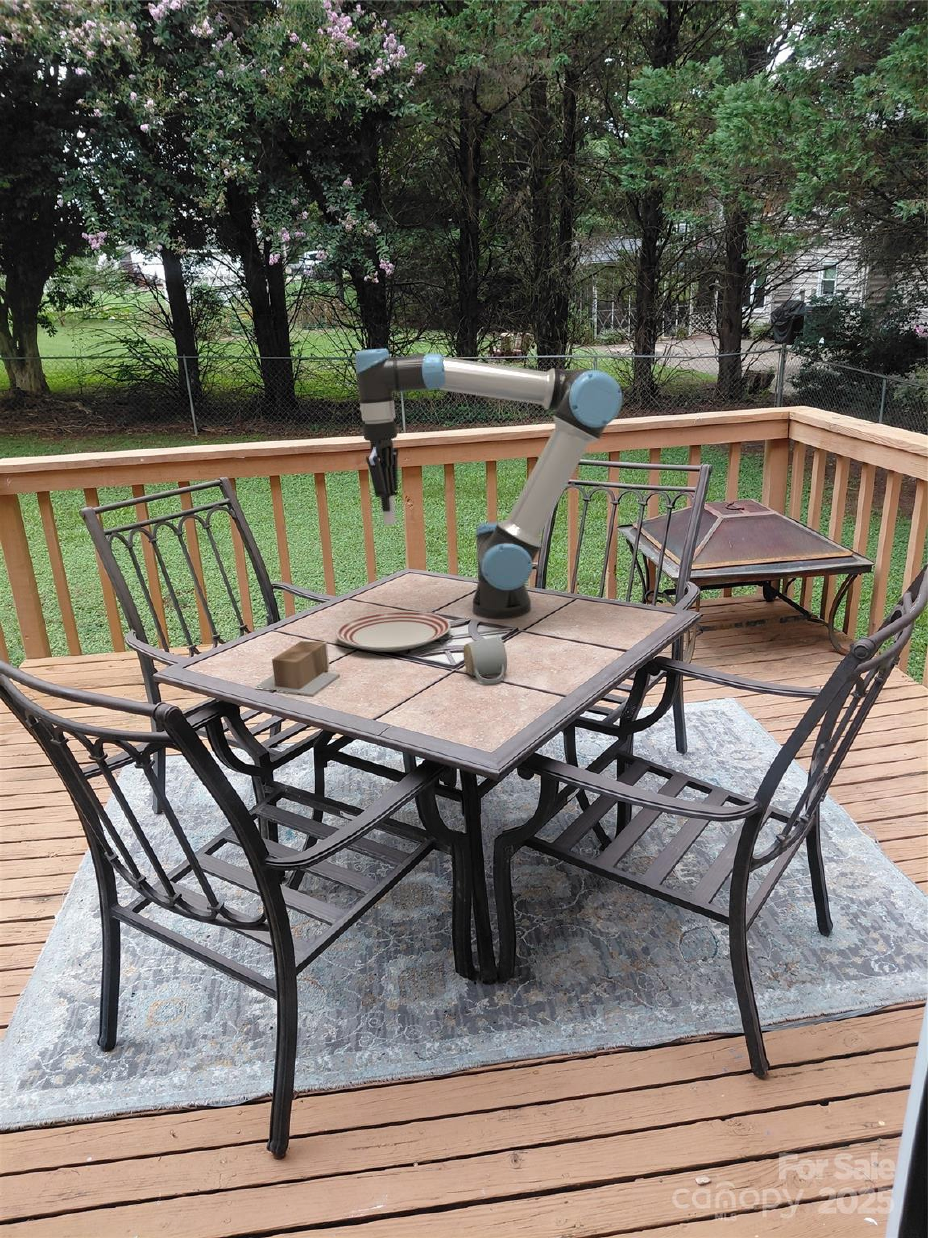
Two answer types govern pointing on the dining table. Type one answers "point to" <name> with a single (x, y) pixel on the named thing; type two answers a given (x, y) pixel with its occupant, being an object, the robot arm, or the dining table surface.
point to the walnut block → (300, 664)
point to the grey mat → (308, 689)
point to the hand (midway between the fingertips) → (390, 523)
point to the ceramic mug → (486, 659)
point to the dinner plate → (393, 630)
